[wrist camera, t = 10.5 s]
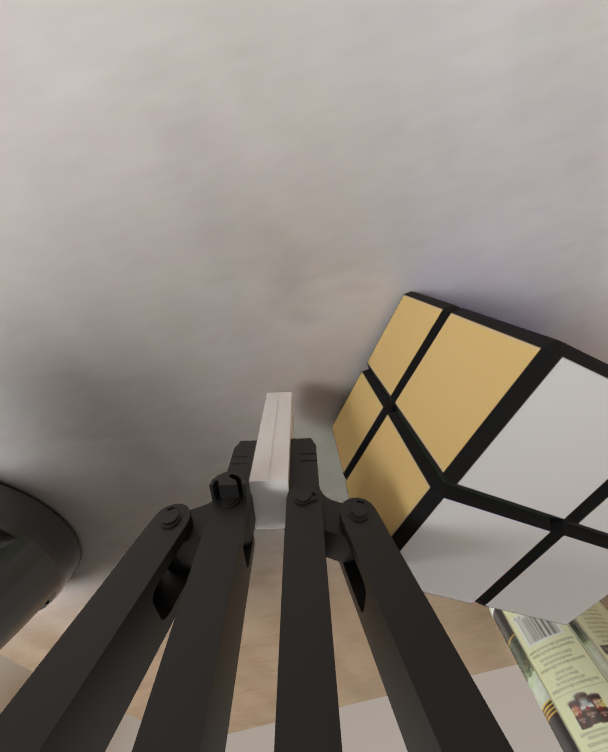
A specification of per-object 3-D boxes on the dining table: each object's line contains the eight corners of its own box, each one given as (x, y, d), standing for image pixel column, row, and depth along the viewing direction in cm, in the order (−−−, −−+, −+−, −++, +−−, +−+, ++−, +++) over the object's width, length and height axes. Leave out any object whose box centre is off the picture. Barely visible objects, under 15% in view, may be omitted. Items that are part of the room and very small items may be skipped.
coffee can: (549, 624, 34) (700, 856, 21) (471, 617, 33) (582, 859, 20) (607, 575, 29) (843, 832, 17) (520, 565, 28) (703, 833, 15)
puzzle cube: (540, 351, 18) (805, 459, 9) (448, 467, 21) (566, 630, 12) (404, 287, 16) (561, 339, 7) (329, 427, 19) (363, 585, 10)
